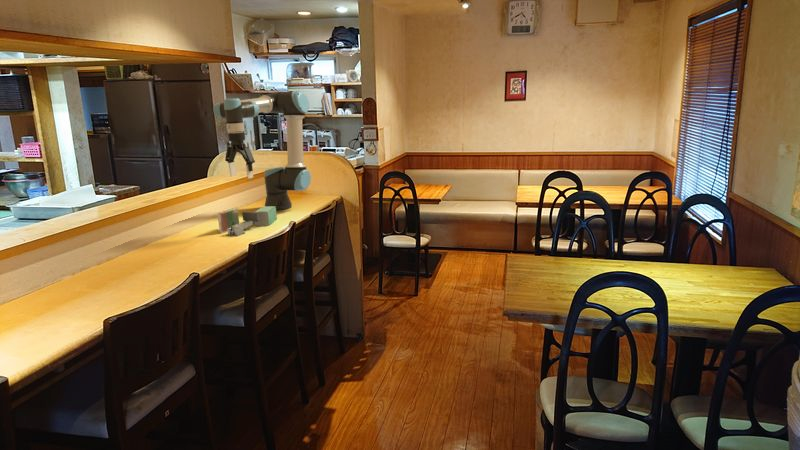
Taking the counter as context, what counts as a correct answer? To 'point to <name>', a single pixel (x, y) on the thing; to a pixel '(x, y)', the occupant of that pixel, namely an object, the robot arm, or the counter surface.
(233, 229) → the plunger
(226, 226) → the gauge housing
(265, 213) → the box
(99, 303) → the counter surface
